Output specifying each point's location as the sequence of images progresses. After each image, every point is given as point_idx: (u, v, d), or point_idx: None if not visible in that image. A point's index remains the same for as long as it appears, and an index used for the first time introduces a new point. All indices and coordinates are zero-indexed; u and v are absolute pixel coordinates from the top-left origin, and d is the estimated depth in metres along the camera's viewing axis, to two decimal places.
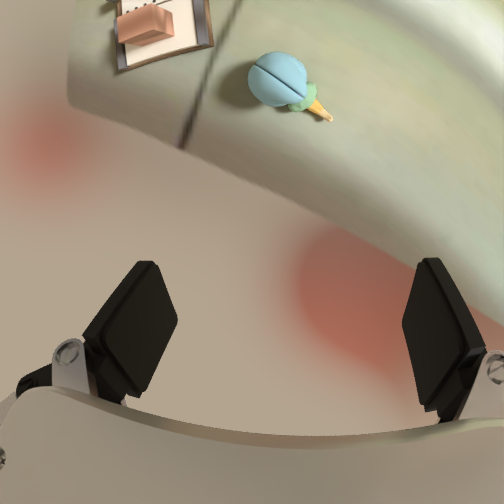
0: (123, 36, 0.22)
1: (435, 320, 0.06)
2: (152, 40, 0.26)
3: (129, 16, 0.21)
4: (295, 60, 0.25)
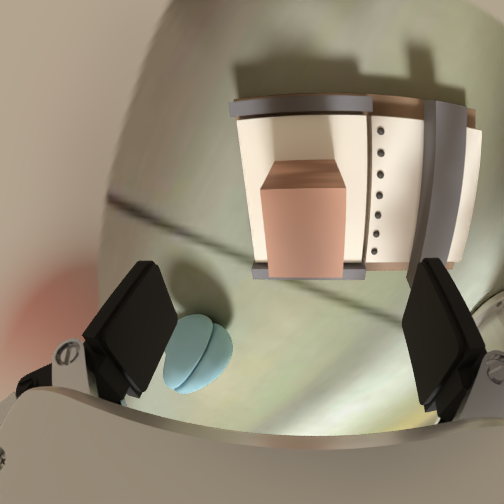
0: (274, 204, 0.13)
1: (435, 320, 0.06)
2: None
3: (330, 225, 0.13)
4: None
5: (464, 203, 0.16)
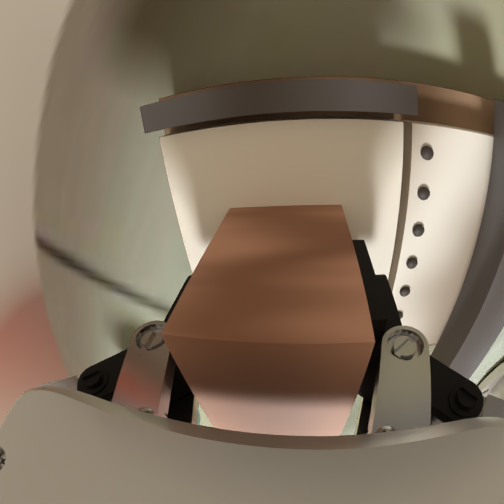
0: (200, 361, 0.05)
1: None
2: None
3: (326, 395, 0.05)
4: None
5: None
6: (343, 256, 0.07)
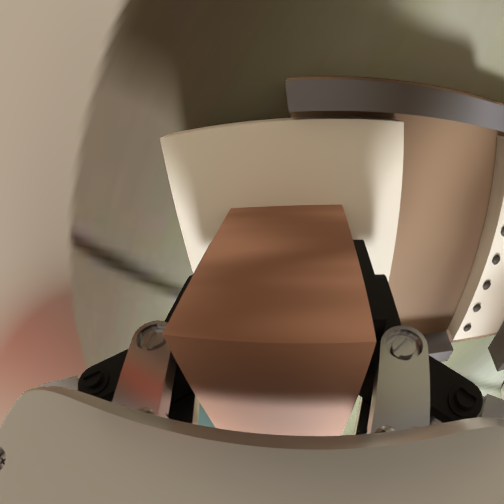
0: (201, 361, 0.05)
1: None
2: None
3: (327, 394, 0.05)
4: None
5: None
6: (344, 256, 0.07)
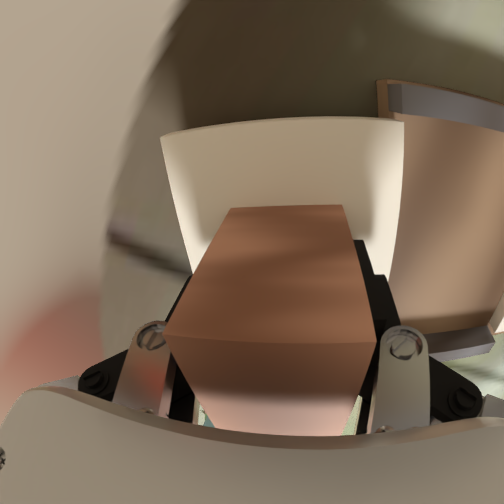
0: (201, 361, 0.05)
1: None
2: None
3: (327, 394, 0.05)
4: None
5: None
6: (344, 256, 0.07)
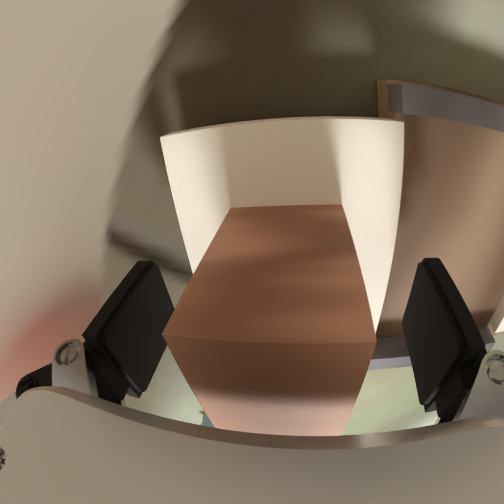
0: (201, 361, 0.05)
1: (435, 320, 0.06)
2: None
3: (327, 395, 0.05)
4: None
5: None
6: (344, 256, 0.07)
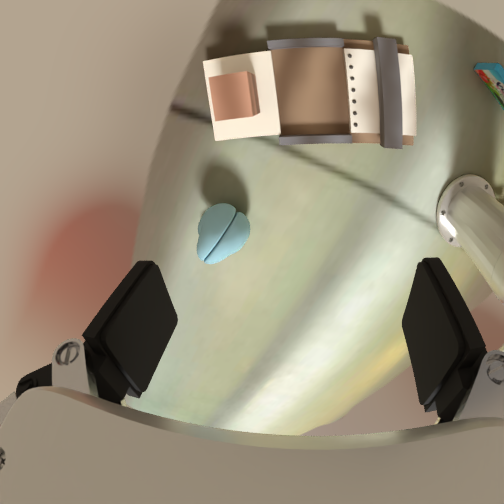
0: (215, 83, 0.24)
1: (435, 320, 0.06)
2: None
3: (241, 89, 0.24)
4: (238, 249, 0.38)
5: (408, 96, 0.26)
6: None
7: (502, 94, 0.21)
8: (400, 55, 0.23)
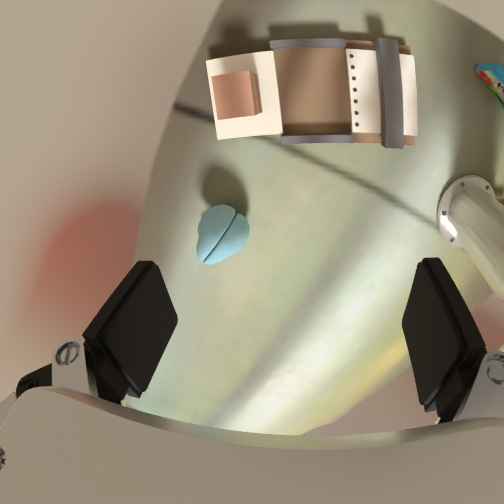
0: (218, 82, 0.24)
1: (435, 320, 0.06)
2: None
3: (244, 88, 0.25)
4: (237, 250, 0.39)
5: (409, 96, 0.26)
6: None
7: (503, 95, 0.21)
8: (401, 56, 0.23)
